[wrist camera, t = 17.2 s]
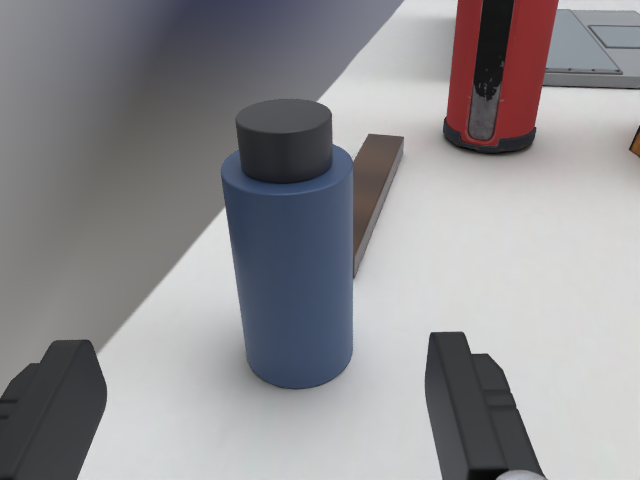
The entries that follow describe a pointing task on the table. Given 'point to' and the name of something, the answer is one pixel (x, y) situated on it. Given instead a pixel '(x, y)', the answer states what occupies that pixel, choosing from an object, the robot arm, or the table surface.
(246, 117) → the water bottle
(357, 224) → the walnut strip
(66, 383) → the robot arm
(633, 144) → the mug
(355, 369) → the table surface
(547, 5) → the speaker
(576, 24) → the laptop
